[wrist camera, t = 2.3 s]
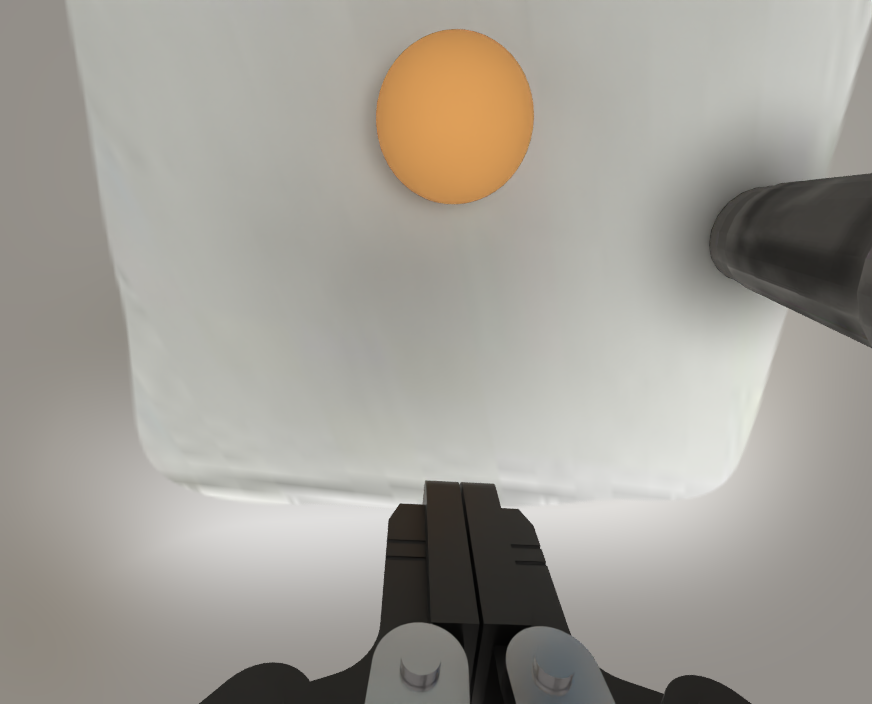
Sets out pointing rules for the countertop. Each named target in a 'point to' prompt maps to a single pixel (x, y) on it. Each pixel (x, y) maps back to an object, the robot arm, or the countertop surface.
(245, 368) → the countertop surface
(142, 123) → the countertop surface
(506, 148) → the ball
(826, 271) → the beverage cup
